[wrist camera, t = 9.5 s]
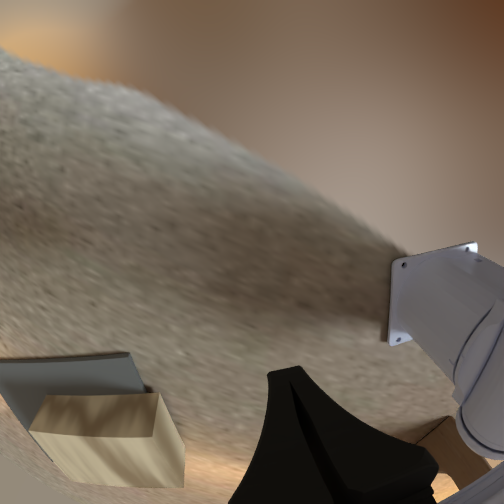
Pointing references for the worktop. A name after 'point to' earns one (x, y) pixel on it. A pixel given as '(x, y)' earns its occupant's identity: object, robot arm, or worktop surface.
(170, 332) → the worktop surface
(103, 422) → the birch block
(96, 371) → the mat
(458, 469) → the wooden block
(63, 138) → the worktop surface
